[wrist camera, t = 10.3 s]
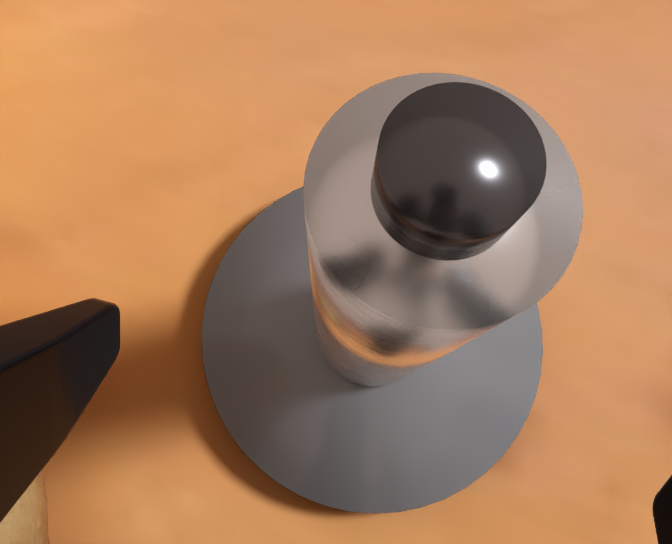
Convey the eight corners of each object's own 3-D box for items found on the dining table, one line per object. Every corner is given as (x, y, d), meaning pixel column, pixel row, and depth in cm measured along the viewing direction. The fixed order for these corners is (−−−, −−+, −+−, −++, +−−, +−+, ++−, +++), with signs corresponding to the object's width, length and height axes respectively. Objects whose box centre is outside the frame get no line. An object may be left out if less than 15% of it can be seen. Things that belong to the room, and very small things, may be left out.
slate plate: (216, 530, 20) (210, 537, 18) (201, 201, 24) (194, 189, 22) (566, 484, 20) (580, 487, 19) (494, 171, 24) (503, 159, 23)
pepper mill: (322, 393, 20) (318, 332, 6) (310, 282, 21) (285, 34, 8) (437, 379, 20) (666, 292, 7) (418, 270, 22) (577, 10, 8)
